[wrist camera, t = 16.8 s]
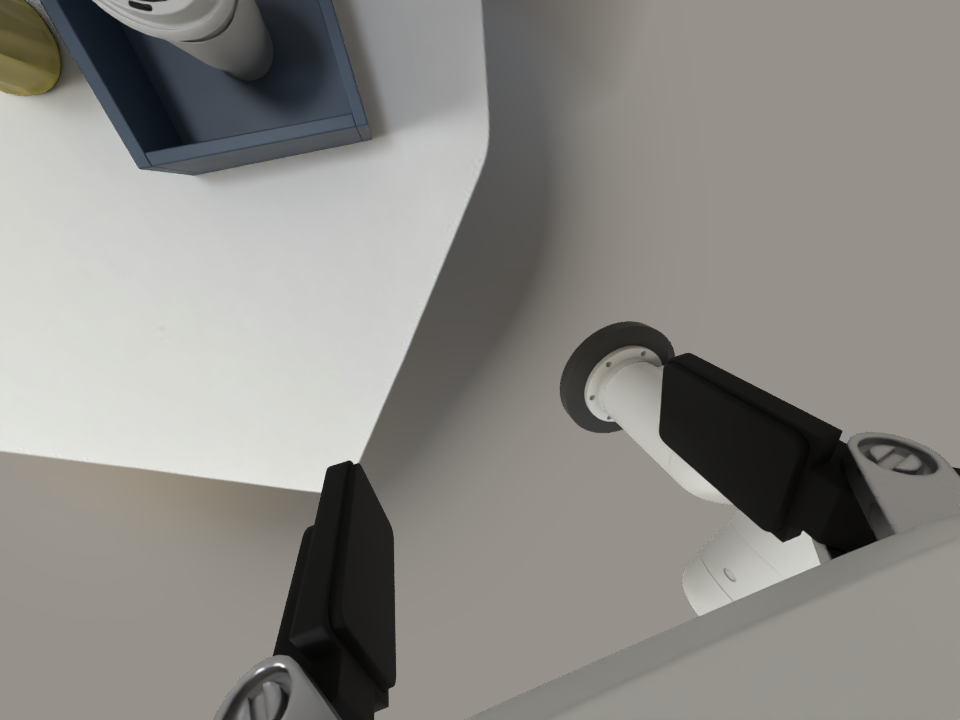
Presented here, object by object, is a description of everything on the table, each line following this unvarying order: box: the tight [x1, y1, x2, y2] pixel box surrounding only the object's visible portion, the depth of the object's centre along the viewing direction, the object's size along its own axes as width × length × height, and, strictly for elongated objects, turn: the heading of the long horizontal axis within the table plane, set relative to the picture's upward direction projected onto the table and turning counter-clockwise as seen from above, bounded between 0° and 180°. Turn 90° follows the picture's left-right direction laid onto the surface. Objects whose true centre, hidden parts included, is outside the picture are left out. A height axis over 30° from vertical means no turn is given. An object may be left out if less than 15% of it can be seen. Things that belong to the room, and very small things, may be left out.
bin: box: [40, 0, 372, 176], centre depth 22 cm, size 15×15×7 cm
